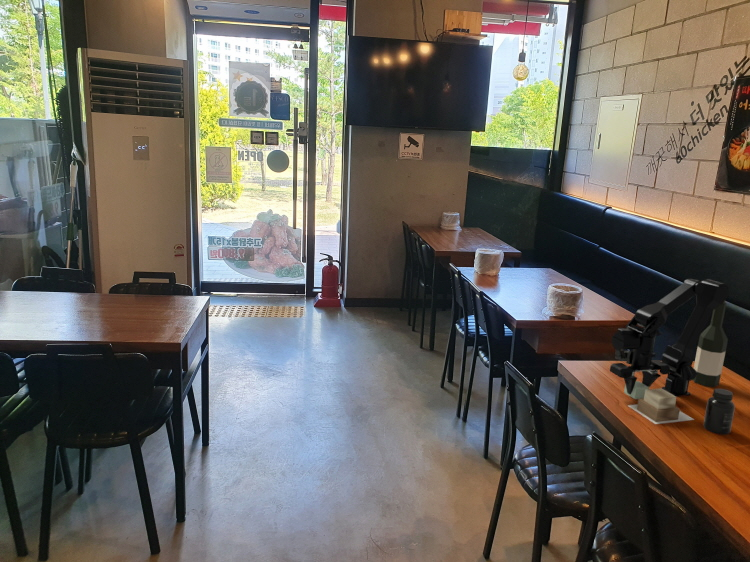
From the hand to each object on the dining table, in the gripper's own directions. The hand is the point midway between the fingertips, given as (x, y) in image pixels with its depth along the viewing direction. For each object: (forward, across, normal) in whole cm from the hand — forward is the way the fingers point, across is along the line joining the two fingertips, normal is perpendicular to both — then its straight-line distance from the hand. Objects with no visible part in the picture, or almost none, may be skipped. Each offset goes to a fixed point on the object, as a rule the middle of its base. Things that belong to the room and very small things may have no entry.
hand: (636, 393), depth 183 cm
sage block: (+1, 0, 0) cm, 1 cm away
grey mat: (+1, +1, +12) cm, 12 cm away
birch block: (-3, +3, +13) cm, 14 cm away
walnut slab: (+1, +3, +13) cm, 13 cm away
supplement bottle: (+1, -8, +24) cm, 25 cm away
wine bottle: (+1, -33, -5) cm, 33 cm away
